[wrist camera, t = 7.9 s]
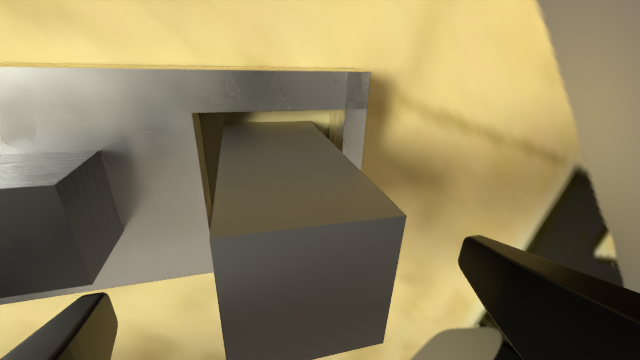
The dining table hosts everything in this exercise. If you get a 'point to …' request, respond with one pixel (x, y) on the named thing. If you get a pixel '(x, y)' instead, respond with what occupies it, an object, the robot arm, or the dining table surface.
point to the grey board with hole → (131, 165)
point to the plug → (299, 245)
